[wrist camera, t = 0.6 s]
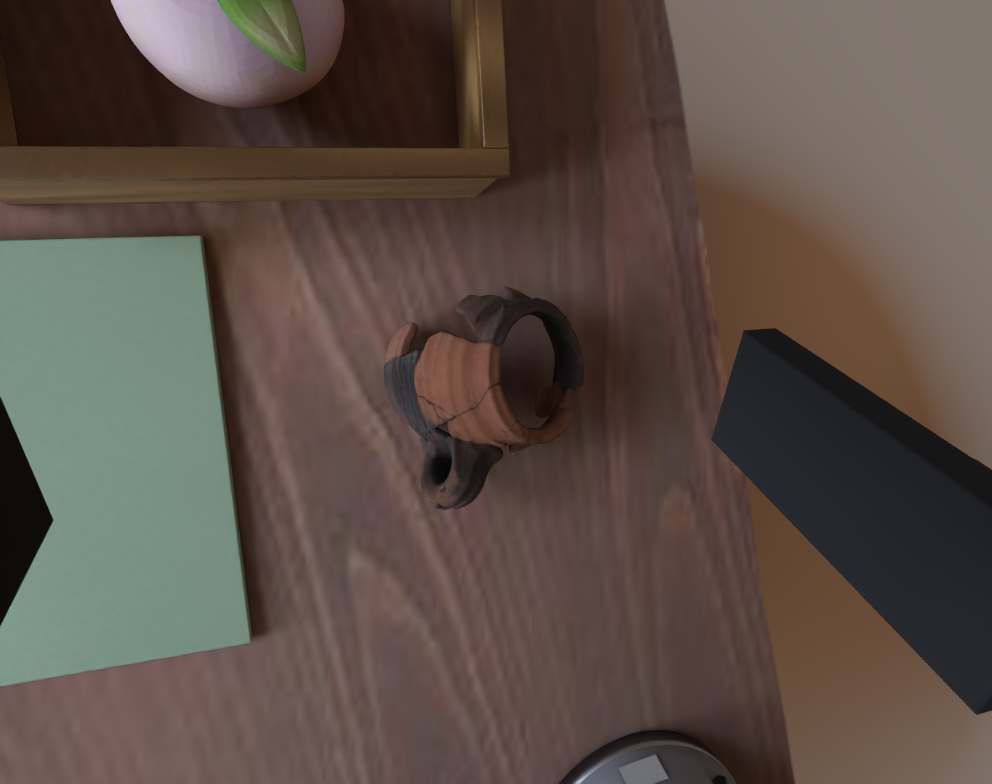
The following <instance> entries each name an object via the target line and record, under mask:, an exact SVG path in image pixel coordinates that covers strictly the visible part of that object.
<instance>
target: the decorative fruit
mask: <svg viewBox="0 0 992 784" xmlns="http://www.w3.org/2000/svg"><path fill="white" fill-rule="evenodd" d="M111 2H112V5H113V7H114V9H115V12H116V14H117V16H118V18H119V20H120V22H121V23H122V25H123V27H124V28H125V30H126V32H127V34H128V35H129V37H130V38H131V40H132V41H133V43H134V44H135V45H136V47H137V48H138V49H139V51H140V52H141V53H142V54H143V55H144V56H145V57H146V58H147V59H148V60H149V61H150V62H151V63H152V64H153V66H154V67H155V68H157V69H158V70H159V71H160V72H161V73H162V74H163V75H164V76H165V77H166V78H168V79H169V80H170V81H171V82H173V83H174V84H175V85H176V86H178V87H180V88H181V89H183V90H184V91H186V92H188V93H190V94H192V95H194V96H196V97H198V98H200V99H202V100H205V101H208V102H211V103H214V104H217V105H221V106H226V107H231V108H239V109H254V108H262V107H267V106H271V105H275V104H279V103H282V102H285V101H287V100H290V99H293V98H295V97H297V96H299V95H301V94H303V93H304V92H306V91H308V90H309V89H310V88H312V87H313V86H315V85H316V84H317V83H318V82H319V81H321V80H322V79H323V77H324V76H325V75H326V74H327V72H328V71H329V70H330V68H331V66H332V65H333V63H334V61H335V59H336V57H337V54H338V52H339V49H340V45H341V42H342V37H343V30H344V5H343V0H111Z"/></svg>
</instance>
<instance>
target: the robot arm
mask: <svg viewBox="0 0 992 784" xmlns="http://www.w3.org/2000/svg"><path fill="white" fill-rule="evenodd" d="M712 441H713V442H714V443H715V444H716V445H717V446H718V447H719V448H720V449H721V450H722V451H723V452H724V453H725V454H726V455H727V456H728V457H729V458H730V460H731V461H732V462H733V463H734V464H735V465H736V466H737V467H738V468H739V469H740V470H741V471H742V472H743V473H744V474H745V475H746V476H747V477H748V478H749V479H750V480H751V481H752V482H753V483H754V484H755V485H756V486H757V488H758V489H759V490H760V491H762V493H763V494H764V495H765V496H766V497H767V498H768V499H769V500H770V501H771V502H772V503H773V504H774V505H775V506H776V507H777V508H778V509H779V510H780V511H781V512H782V513H783V515H784V516H785V517H786V518H787V519H788V520H789V521H790V522H791V523H792V524H793V525H794V526H795V527H796V528H797V529H798V530H799V531H800V532H801V533H802V534H803V535H804V536H805V537H806V538H807V539H808V541H810V543H811V544H812V545H813V546H814V547H815V548H816V549H817V550H818V551H819V552H820V553H821V554H822V555H823V556H824V557H825V558H826V559H827V560H828V561H829V562H830V563H831V564H832V565H833V566H834V567H835V569H836V570H837V571H838V572H839V573H840V574H841V575H842V576H843V577H844V578H845V579H846V580H847V581H848V582H849V583H850V584H851V585H852V586H853V587H854V588H855V589H856V590H857V591H858V592H859V593H860V594H861V595H862V597H863V598H864V599H865V600H866V601H867V602H868V603H869V604H870V605H871V606H872V607H873V608H874V609H875V610H876V611H877V612H878V613H879V614H880V615H881V616H882V617H883V618H884V619H885V620H886V621H887V623H889V624H890V625H891V626H892V628H893V629H894V630H895V631H896V632H897V633H898V634H899V635H900V636H901V637H902V638H903V639H904V640H905V641H906V642H907V643H908V644H909V645H910V646H911V647H912V648H913V650H914V651H915V652H916V653H917V654H918V655H919V656H920V657H921V658H922V659H923V660H924V661H925V662H926V663H927V664H928V665H929V666H930V667H931V668H932V669H933V670H934V671H935V672H936V673H937V674H938V675H939V676H940V678H941V679H943V681H944V682H945V683H946V684H947V685H948V686H949V687H950V688H951V689H952V690H953V691H954V692H955V693H956V694H957V695H958V696H959V697H960V698H961V699H962V700H963V701H964V702H965V704H966V705H967V706H968V707H969V708H970V709H971V710H972V711H973V712H974V713H975V714H976V715H977V714H981V713H984V712H988V711H991V710H992V470H991V469H990V468H988V467H987V466H985V465H984V464H982V463H980V462H979V461H977V460H975V459H973V458H971V457H970V456H968V455H967V454H965V453H964V452H962V451H960V450H959V449H957V448H956V447H955V446H953V445H951V444H950V443H948V442H947V441H945V440H944V439H942V438H941V437H939V436H938V435H936V434H935V433H933V432H932V431H930V430H929V429H927V428H926V427H924V426H923V425H921V424H920V423H918V422H917V421H915V420H913V419H912V418H911V417H909V416H908V415H906V414H904V413H903V412H901V411H900V410H898V409H897V408H895V407H894V406H892V405H891V404H889V403H888V402H886V401H885V400H883V399H882V398H880V397H878V396H877V395H876V394H874V393H873V392H871V391H870V390H868V389H867V388H865V387H864V386H862V385H861V384H859V383H858V382H856V381H854V380H853V379H851V378H850V377H848V376H847V375H845V374H844V373H842V372H841V371H839V370H838V369H836V368H835V367H833V366H832V365H830V364H829V363H827V362H826V361H824V360H823V359H821V358H820V357H818V356H816V355H815V354H813V353H812V352H811V351H809V350H808V349H806V348H804V347H803V346H801V345H800V344H798V343H797V342H795V341H794V340H792V339H791V338H789V337H788V336H786V335H785V334H783V333H782V332H780V331H779V330H777V329H775V328H773V329H758V330H744V332H743V335H742V338H741V342H740V345H739V349H738V352H737V355H736V359H735V362H734V366H733V369H732V372H731V376H730V379H729V382H728V386H727V389H726V392H725V396H724V399H723V403H722V406H721V409H720V413H719V416H718V419H717V423H716V426H715V430H714V433H713V436H712ZM52 522H53V518H52V515H51V513H50V511H49V508H48V506H47V504H46V501H45V499H44V497H43V494H42V492H41V490H40V487H39V485H38V483H37V480H36V478H35V476H34V473H33V471H32V469H31V466H30V464H29V462H28V459H27V457H26V455H25V452H24V450H23V448H22V445H21V443H20V441H19V438H18V436H17V434H16V432H15V429H14V427H13V425H12V422H11V420H10V418H9V415H8V413H7V411H6V408H5V406H4V404H3V401H2V399H1V397H0V626H1V624H2V622H3V620H4V618H5V616H6V614H7V612H8V610H9V608H10V606H11V604H12V602H13V600H14V598H15V596H16V594H17V592H18V590H19V588H20V586H21V584H22V582H23V580H24V578H25V576H26V574H27V572H28V570H29V568H30V566H31V564H32V562H33V560H34V558H35V556H36V554H37V552H38V550H39V548H40V546H41V544H42V542H43V540H44V538H45V536H46V534H47V532H48V530H49V528H50V526H51V524H52ZM560 784H736V782H735V781H734V779H733V777H732V776H731V774H730V773H729V771H728V770H727V769H726V768H725V766H724V765H723V764H722V763H721V762H720V760H719V759H718V758H717V757H716V756H715V755H714V754H713V752H712V751H710V750H709V749H708V748H707V747H706V746H704V745H703V744H701V743H700V742H698V741H696V740H694V739H692V738H690V737H687V736H684V735H681V734H677V733H672V732H644V733H639V734H634V735H630V736H627V737H624V738H621V739H618V740H616V741H613V742H611V743H609V744H607V745H605V746H603V747H602V748H600V749H598V750H597V751H595V752H593V753H592V754H591V755H589V756H588V757H586V758H585V759H584V760H582V761H581V762H580V763H579V764H578V765H577V766H575V767H574V768H573V769H572V770H571V771H570V772H569V773H568V774H567V775H566V777H565V778H564V779H563V780H562V781H561V782H560Z"/></svg>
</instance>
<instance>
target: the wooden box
mask: <svg viewBox="0 0 992 784" xmlns="http://www.w3.org/2000/svg"><path fill="white" fill-rule="evenodd" d="M450 8H451V25H452V41H453V57H454V73H455V90H456V106H457V122H458V139H459V148H326V147H114V146H18V142H17V136H16V130H15V123H14V117H13V111H12V105H11V99H10V93H9V87H8V81H7V75H6V69H5V62H4V56H3V50H2V44H1V38H0V201H1V202H4V203H7V204H76V203H145V202H213V201H282V200H351V199H419V198H475V197H477V196H478V195H479V194H480V193H481V192H482V191H484V190H485V189H486V188H487V187H488V186H489V185H490V184H491V183H493V182H494V181H495V180H496V179H504V178H508V177H509V176H510V174H511V172H510V152H509V149H508V148H509V132H508V112H507V92H506V72H505V52H504V31H503V11H502V0H450Z"/></svg>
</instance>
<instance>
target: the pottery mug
mask: <svg viewBox="0 0 992 784" xmlns="http://www.w3.org/2000/svg"><path fill="white" fill-rule="evenodd" d="M501 291H502V293H503V294H504V295H506V296H507V299H508V300H506V299H504V298H502V297H500V296H494V295H486V296H481V297H478V296H475V295H469V296H467V297H465V298H464V299H462V300H461V301H459V302H458V303H457V304H456V305H455V311H456V312H458V313H459V314H462V315H465V316H466V319H467V321H468V322H469V324H470V326H471V328H472V330H473V334H474V337H475V340H476V342H473V341H470V340H468V339H466V338H461V337H458V336H455V335H452V334H449V333H447V332H443V331H441V332H440V333H437V334H435V335H433V336H432V337H430V338H429V339H428V341H427V343H426V345H425V348H424V350H420V349H418V350H416V351H413V352H411V353H409V351H410V347H411V344H412V342H413V339H414V337H415V335H416V333H417V331H418V326H417V325H416V324H415V323H408V324H407V325H405V326H403V327H402V328H399V329H398V330H396V331H395V333H394V335H393V337H392V338H391V340H390V343H389V346H388V349H387V353H386V358H385V366H384V377H385V387H386V390H387V393H388V397H389V400H390V402H391V404H392V406H393V408H394V409H395V411H396V412H397V413H398V414H399V416H400V417H401V418H402V419H403V420H404V421H405V422H406V423H407V424H408V425H410V426H411V427H412V428H413V429H414V430H415V431H416V432H417V433H418V435H419V436H421V438H420V441H421V445H422V462H421V466H420V484H421V488H422V491H423V493H424V494H425V495H426V497H427V498H428V499H429V500H430V502H431V503H432V504H433V505H434V507H435V508H437V509H441V510H446V509H449V508H453V509H459V508H461V507H464V506H466V505H468V504H469V503H471V502H472V501H473V500H474V499H475V498H476V497H477V496H478V494H479V493H480V491H481V489H482V488H483V486H484V483H485V480H486V476H487V474H488V472H489V470H490V468H491V467H492V465H493V464H494V463H496V462H497V461H499V460H500V459H501V458H502V456H503V451H502V450H501V448H499V447H505V446H507V445H510V446H509V450H510V452H516V451H519V450H522V449H525V448H527V447H529V446H531V445H537V444H543V443H547V442H550V441H553V440H554V439H555V438H557V437H558V436H560V435H561V434H562V433H563V432H564V431H565V430H566V428H567V427H568V426H569V424H570V423H571V421H572V419H573V416H574V413H573V412H572V410H571V409H569V408H563V407H564V405H565V402H566V396H567V390H568V389H573V390H579V389H580V388H581V387H582V385H583V382H584V366H583V358H582V352H581V348H580V344H579V341H578V338H577V336H576V334H575V331H574V330H573V329H572V326H571V324H570V322H569V321H568V319H567V317H566V316H565V315H564V314H563V313H562V312H561V311H560V310H559V309H558V307H557V306H555V305H554V304H552V303H550V302H549V301H546V300H541V299H539V298H534V299H531V298H530V297H528V296H526V295H525V294H523V293H521V292H519V291H517V290H515V289H511V288H509V287H506V286H503V287H502V288H501ZM529 314H530V315H534V316H536V317H538V318H540V319H541V320H542V321H543V324H544V327H545V329H546V331H547V333H548V335H549V337H550V340H551V342H552V346H553V349H554V353H555V354H554V356H555V365H554V376H553V383H552V384H551V385H550V386H547V387H546V388H544V389H543V390H541V391H539V392H538V394H537V396H536V416H537V417H540V418H547V417H548V416H549V418H548V419H547V421H546V422H545V423H544V424H543V425H542V426H540V427H538V428H527V427H526V426H524V425H523V424H521V423H520V422H519V421H518V420H517V419H516V417H515V416H514V415H513V413H512V412H511V410H510V408H509V406H508V404H507V402H506V400H505V397H504V393H503V390H502V386H501V384H500V380H501V378H500V361H501V353H502V344H503V343H504V341H505V339H506V336H507V334H508V332H509V330H510V329H511V327H512V326H513V325H514V324H515V323H516V322H517V321H518V320H519V319H520V318H522V317H523V316H526V315H529ZM445 423H446V424H447V426H448V431H449V433H450V434H449V433H447V432H445V431H443V430H442V429H440V428H438V426H440V425H443V424H445Z"/></svg>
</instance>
